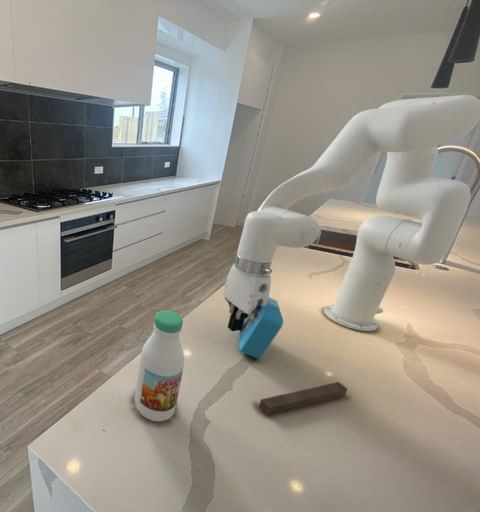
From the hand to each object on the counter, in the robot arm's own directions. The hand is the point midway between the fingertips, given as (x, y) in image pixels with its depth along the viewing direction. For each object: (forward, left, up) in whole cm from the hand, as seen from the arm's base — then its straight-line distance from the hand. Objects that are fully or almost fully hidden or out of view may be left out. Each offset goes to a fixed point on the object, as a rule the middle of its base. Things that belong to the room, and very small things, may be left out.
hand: (234, 328), depth 77 cm
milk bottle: (+30, +15, -3) cm, 33 cm away
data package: (-2, +3, -3) cm, 4 cm away
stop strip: (0, +21, -3) cm, 21 cm away
